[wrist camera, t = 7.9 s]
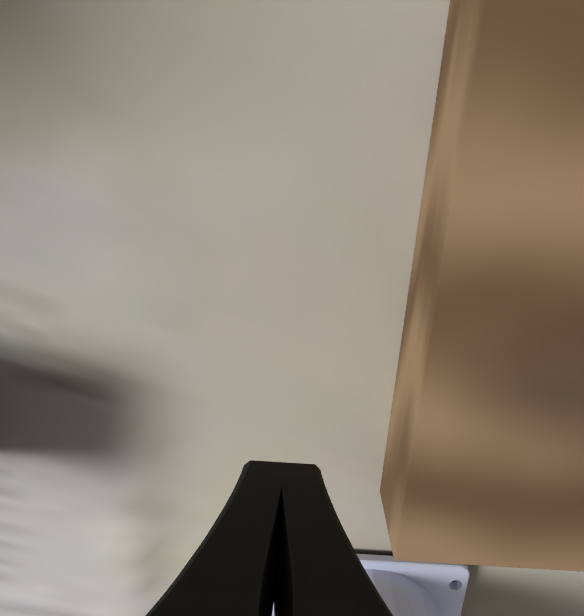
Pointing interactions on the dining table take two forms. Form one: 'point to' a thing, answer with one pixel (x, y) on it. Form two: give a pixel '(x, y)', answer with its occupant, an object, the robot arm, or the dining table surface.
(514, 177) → the board
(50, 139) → the dining table surface
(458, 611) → the robot arm
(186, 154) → the dining table surface
